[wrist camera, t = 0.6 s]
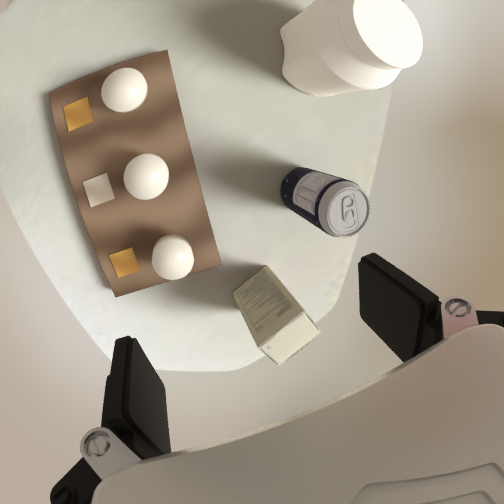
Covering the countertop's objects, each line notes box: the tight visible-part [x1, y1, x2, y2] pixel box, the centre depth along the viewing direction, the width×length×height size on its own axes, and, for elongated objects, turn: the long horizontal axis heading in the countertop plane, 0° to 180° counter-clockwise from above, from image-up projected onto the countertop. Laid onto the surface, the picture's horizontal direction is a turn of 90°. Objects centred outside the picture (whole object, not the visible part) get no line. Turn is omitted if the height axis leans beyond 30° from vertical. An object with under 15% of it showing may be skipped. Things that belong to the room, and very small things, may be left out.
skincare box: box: [232, 266, 321, 365], centre depth 36 cm, size 6×4×12 cm
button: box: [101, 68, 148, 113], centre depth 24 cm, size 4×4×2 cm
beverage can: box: [281, 168, 370, 237], centre depth 32 cm, size 6×6×12 cm
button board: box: [49, 50, 222, 297], centre depth 31 cm, size 26×14×2 cm, turn 13°
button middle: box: [124, 153, 169, 200], centre depth 28 cm, size 4×4×2 cm
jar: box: [280, 0, 423, 97], centre depth 25 cm, size 12×10×15 cm
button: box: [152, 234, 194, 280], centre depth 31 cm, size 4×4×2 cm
